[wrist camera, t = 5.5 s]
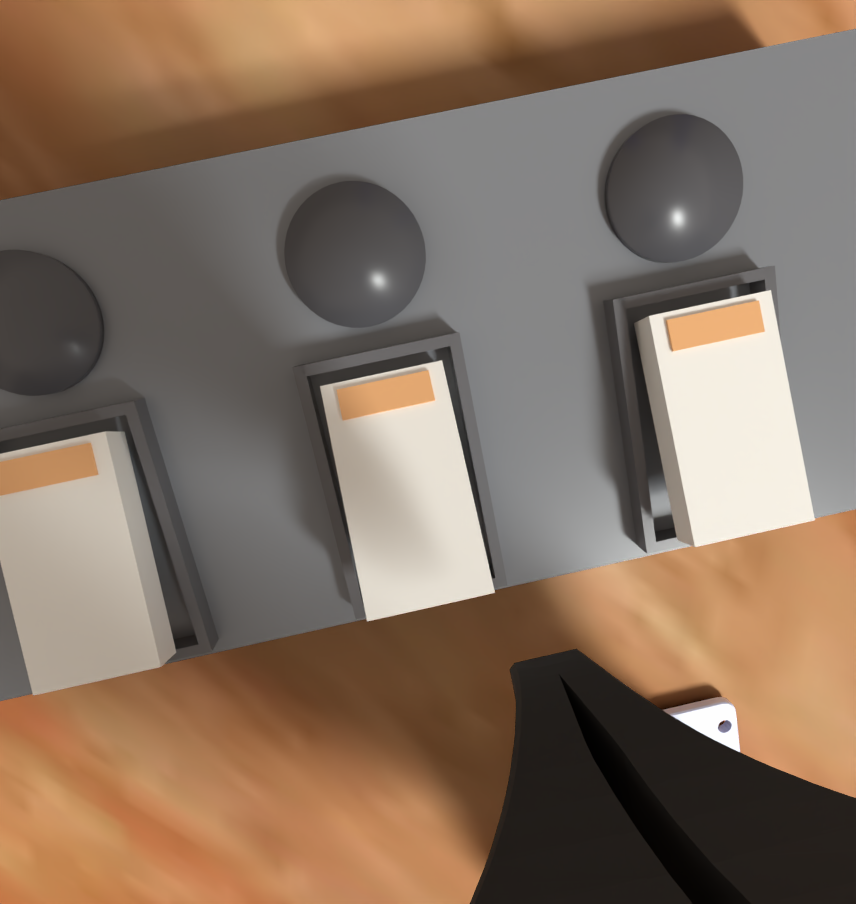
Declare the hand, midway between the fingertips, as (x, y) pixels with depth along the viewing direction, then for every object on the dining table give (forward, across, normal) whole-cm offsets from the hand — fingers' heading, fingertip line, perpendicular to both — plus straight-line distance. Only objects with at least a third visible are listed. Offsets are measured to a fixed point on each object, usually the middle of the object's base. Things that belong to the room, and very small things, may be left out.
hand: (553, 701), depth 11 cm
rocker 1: (+5, +10, -3) cm, 12 cm away
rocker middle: (+5, +2, -3) cm, 6 cm away
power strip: (+9, -2, -6) cm, 11 cm away
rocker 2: (+5, -7, -3) cm, 9 cm away
